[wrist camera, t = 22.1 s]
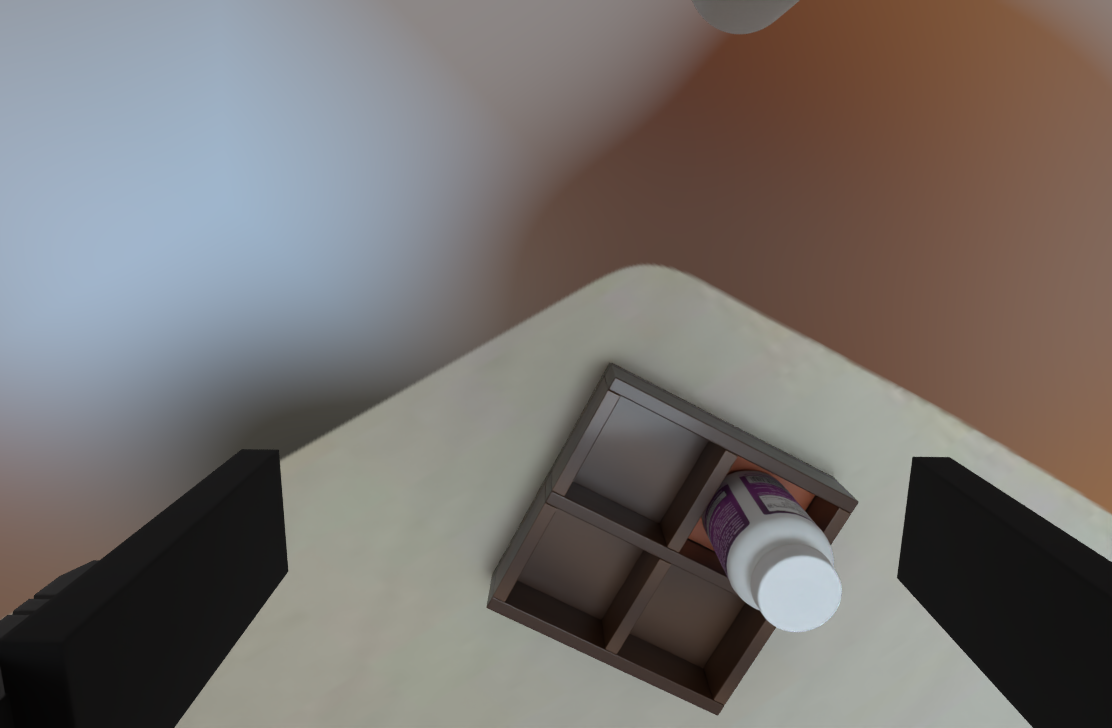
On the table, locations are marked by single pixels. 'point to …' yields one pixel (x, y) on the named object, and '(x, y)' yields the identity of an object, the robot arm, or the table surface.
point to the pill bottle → (772, 551)
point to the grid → (648, 541)
